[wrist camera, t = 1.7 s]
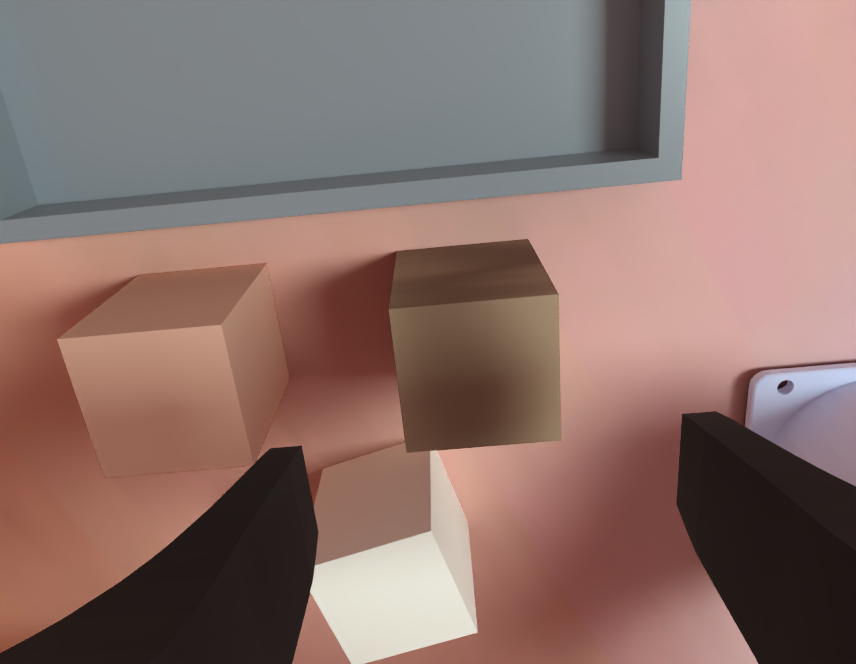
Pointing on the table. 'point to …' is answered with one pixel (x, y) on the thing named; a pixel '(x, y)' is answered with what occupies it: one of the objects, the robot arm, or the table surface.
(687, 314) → the table surface
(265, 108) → the tray
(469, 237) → the table surface
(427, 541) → the cream block
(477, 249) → the walnut block
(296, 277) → the table surface
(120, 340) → the peach block
